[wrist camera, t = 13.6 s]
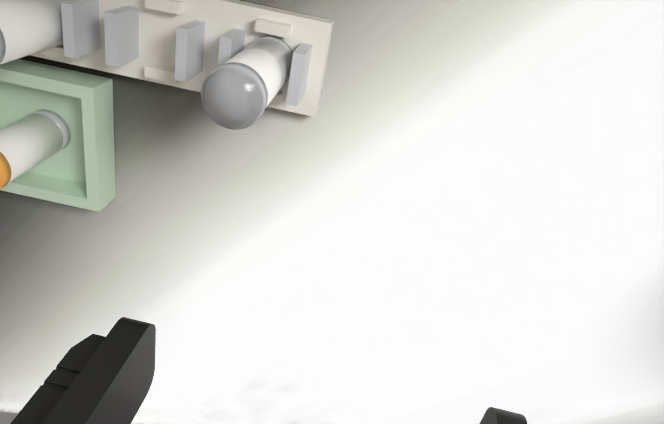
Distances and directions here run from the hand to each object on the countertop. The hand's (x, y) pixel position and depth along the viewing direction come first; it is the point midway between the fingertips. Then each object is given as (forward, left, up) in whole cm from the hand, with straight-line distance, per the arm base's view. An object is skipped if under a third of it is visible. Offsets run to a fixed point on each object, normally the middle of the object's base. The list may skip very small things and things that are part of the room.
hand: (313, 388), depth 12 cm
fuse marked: (+10, -26, -31) cm, 41 cm away
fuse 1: (0, -24, -30) cm, 38 cm away
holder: (0, -16, -31) cm, 35 cm away
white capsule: (0, -8, -30) cm, 31 cm away
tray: (+10, -26, -31) cm, 42 cm away
